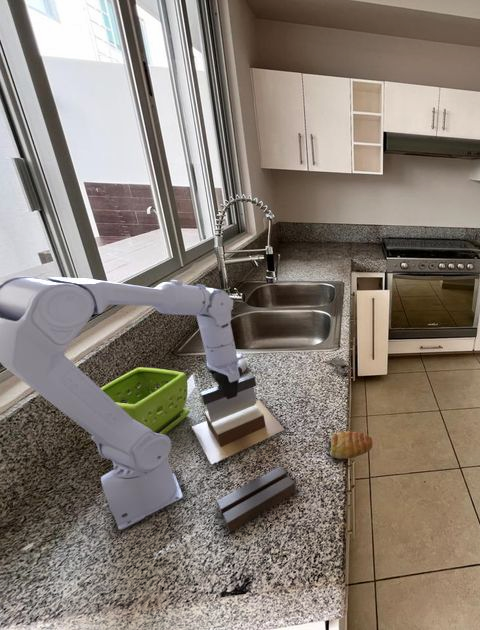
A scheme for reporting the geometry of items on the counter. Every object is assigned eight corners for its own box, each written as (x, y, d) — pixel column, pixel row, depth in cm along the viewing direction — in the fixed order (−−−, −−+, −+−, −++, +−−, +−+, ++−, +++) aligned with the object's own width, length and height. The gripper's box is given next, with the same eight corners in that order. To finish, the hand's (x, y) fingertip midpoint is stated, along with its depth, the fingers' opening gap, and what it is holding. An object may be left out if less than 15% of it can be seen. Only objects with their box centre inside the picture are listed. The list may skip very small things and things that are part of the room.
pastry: (371, 436, 82) (371, 423, 80) (373, 457, 76) (373, 444, 74) (331, 440, 80) (329, 427, 79) (329, 463, 74) (328, 449, 72)
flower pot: (153, 407, 89) (139, 365, 85) (199, 415, 87) (188, 372, 82) (96, 445, 77) (77, 398, 72) (149, 455, 74) (133, 407, 70)
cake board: (211, 466, 72) (211, 464, 72) (191, 428, 83) (191, 426, 82) (285, 431, 83) (285, 429, 82) (259, 401, 93) (259, 399, 93)
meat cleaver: (343, 358, 116) (328, 361, 115) (343, 355, 116) (328, 357, 114) (349, 375, 106) (332, 378, 104) (348, 371, 105) (332, 374, 104)
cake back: (213, 434, 80) (209, 421, 78) (207, 425, 83) (204, 411, 81) (257, 416, 86) (254, 403, 85) (250, 407, 90) (248, 394, 88)
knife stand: (229, 533, 59) (227, 523, 58) (218, 510, 63) (216, 500, 62) (296, 492, 67) (294, 483, 66) (282, 474, 71) (281, 465, 70)
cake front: (220, 447, 76) (217, 433, 75) (214, 436, 79) (210, 422, 78) (265, 426, 83) (263, 413, 81) (258, 417, 86) (256, 404, 84)
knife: (209, 423, 76) (201, 395, 73) (207, 420, 77) (199, 392, 74) (259, 403, 83) (254, 376, 81) (257, 400, 84) (252, 374, 82)
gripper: (250, 348, 71) (260, 402, 76) (227, 326, 81) (237, 375, 86) (213, 359, 67) (226, 415, 72) (193, 335, 76) (206, 386, 81)
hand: (230, 395), depth 79 cm, fingers closed on knife, 2 cm apart
